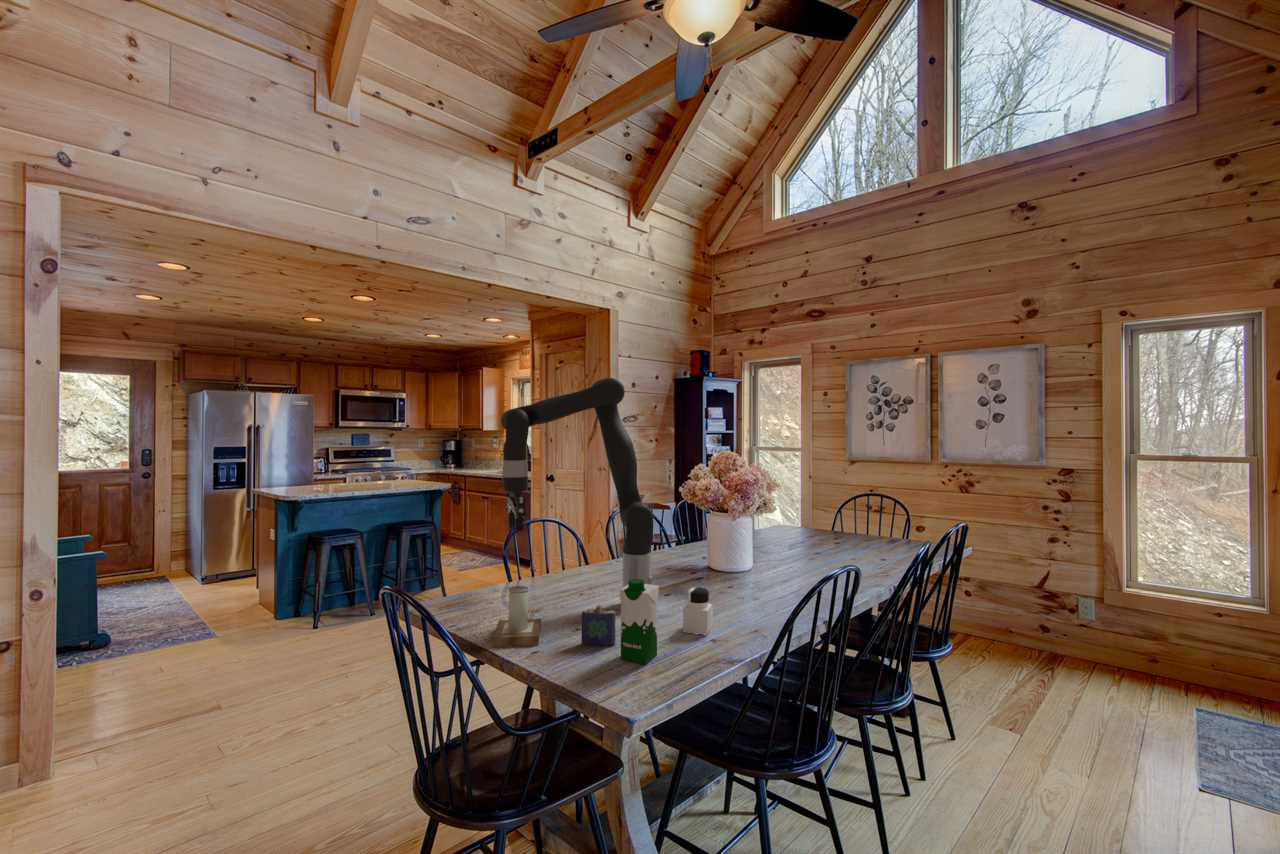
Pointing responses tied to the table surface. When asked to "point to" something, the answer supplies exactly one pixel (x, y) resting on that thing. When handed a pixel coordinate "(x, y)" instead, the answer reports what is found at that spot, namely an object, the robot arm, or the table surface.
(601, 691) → the table surface
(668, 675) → the table surface
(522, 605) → the canister
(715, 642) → the table surface
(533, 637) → the pedestal
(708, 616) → the medicine bottle
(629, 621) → the milk carton
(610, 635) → the flask
